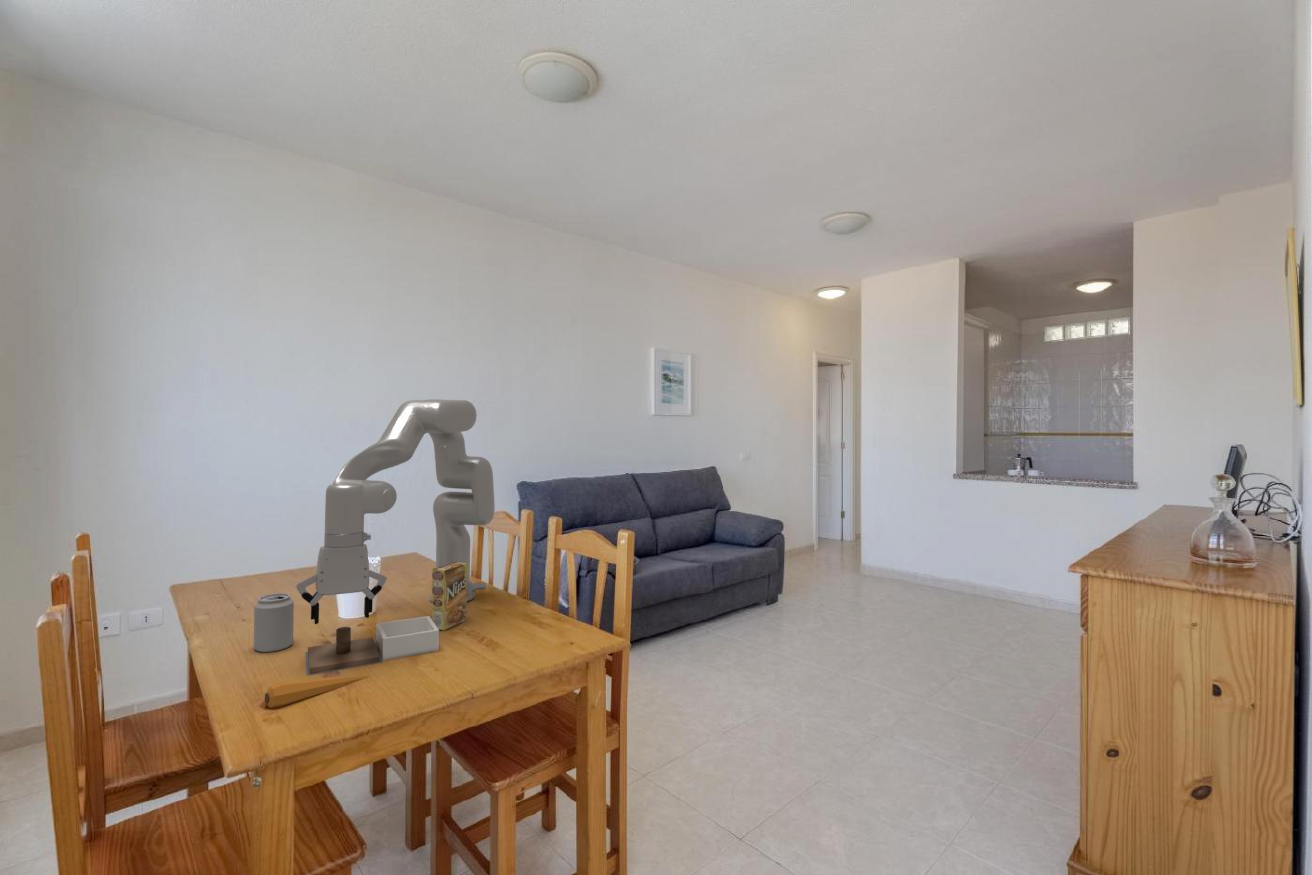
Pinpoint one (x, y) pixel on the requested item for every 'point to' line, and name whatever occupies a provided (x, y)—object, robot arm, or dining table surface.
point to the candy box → (449, 595)
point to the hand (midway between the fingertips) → (341, 619)
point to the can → (273, 622)
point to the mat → (333, 670)
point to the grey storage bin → (407, 637)
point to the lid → (342, 653)
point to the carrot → (304, 689)
